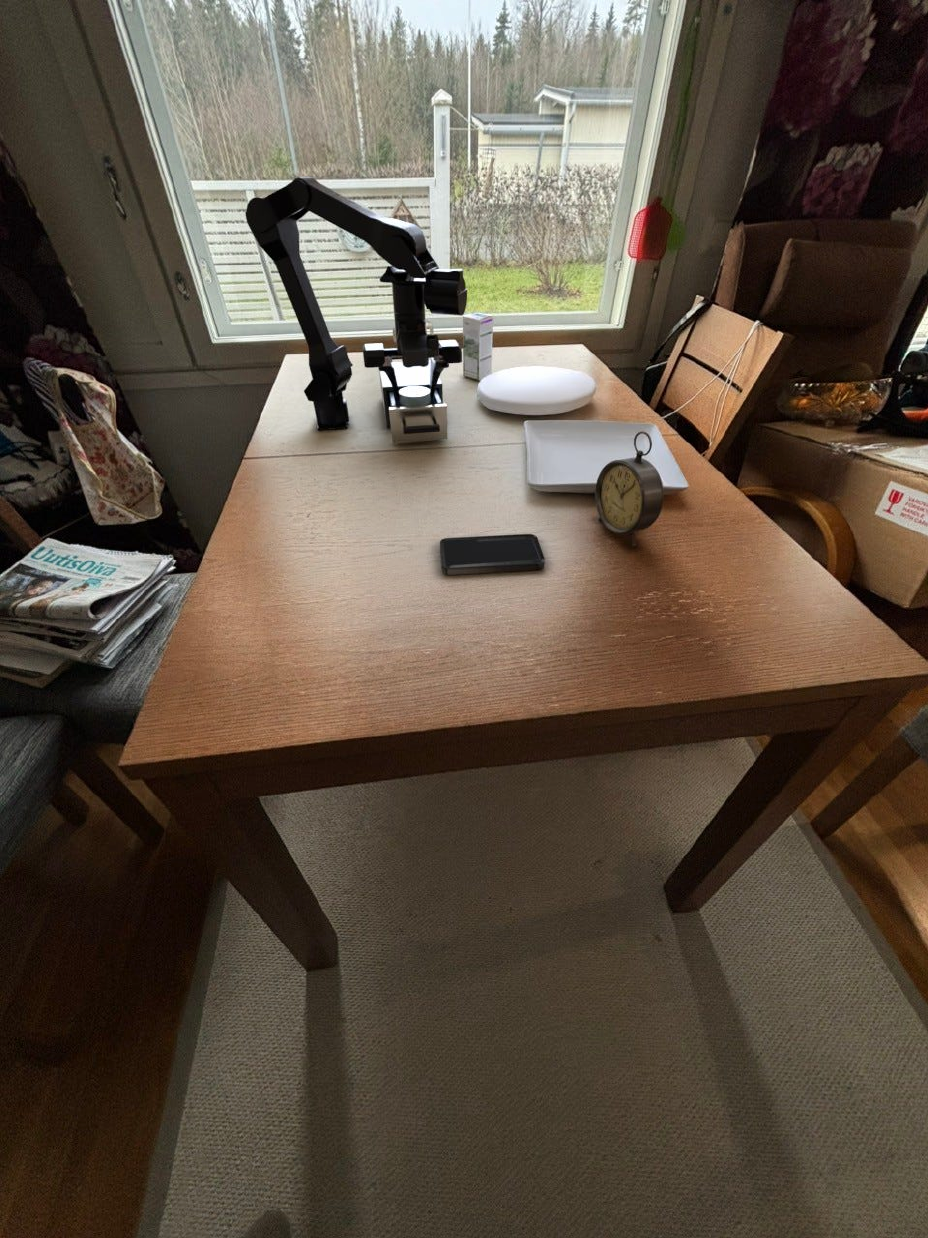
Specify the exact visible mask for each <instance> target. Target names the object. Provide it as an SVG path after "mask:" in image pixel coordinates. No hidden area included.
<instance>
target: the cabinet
mask: <svg viewBox="0 0 928 1238" xmlns="http://www.w3.org/2000/svg"><path fill="white" fill-rule="evenodd" d="M392 362H393V366H394V371H395V376H396V380H397V385H398V389H399V390H400V389H402V388H405V387H409V386H422V387H426V388H430V365H431V359H429V365H428V366H426V367H421V366H412V367H411V368H407V367H404V366H403V362H402V361H392ZM378 373H379V383H380V393H381V402H382V407H383V408H382V409H383V414H384V418H385V425H386V429H391V425H390V415H389V408H390V403H389V393H388V391H394V389H393V387H392V384H391V382H390V380H389V378H388V376H387V375H386V373H385V372H384V371H379V370H378ZM436 390H437V392H438V395H439V397H440V400H441V402H442V404H444V398H443V397H444V394H443V382H442V380H441V378H440V376H439V379H438V382H437V385H436Z"/></svg>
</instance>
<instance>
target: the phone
mask: <svg viewBox="0 0 928 1238" xmlns="http://www.w3.org/2000/svg"><path fill="white" fill-rule="evenodd" d="M439 552H440V564H441V571H442V573H443V574H444V575H447V576H448V575H449V576H451V575H452V576H454V575H470V574H471V575H472V574H489V573H490V574H491V573H504V572H505V573H508V572H524V571H525V572H526V571H527V572H528V571H540V570H543V569H544V567H545V563H546V559H545V555H544V553H543V550H542V546H541V544H540V541H539V538H538V536H537V535H535V534H533V533H517V534H516V533H515V534H500V535H499V534H498V535H496V534H495V535H476V536H459V537H456V536H455V537H444V538H442V539H440V541H439Z"/></svg>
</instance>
